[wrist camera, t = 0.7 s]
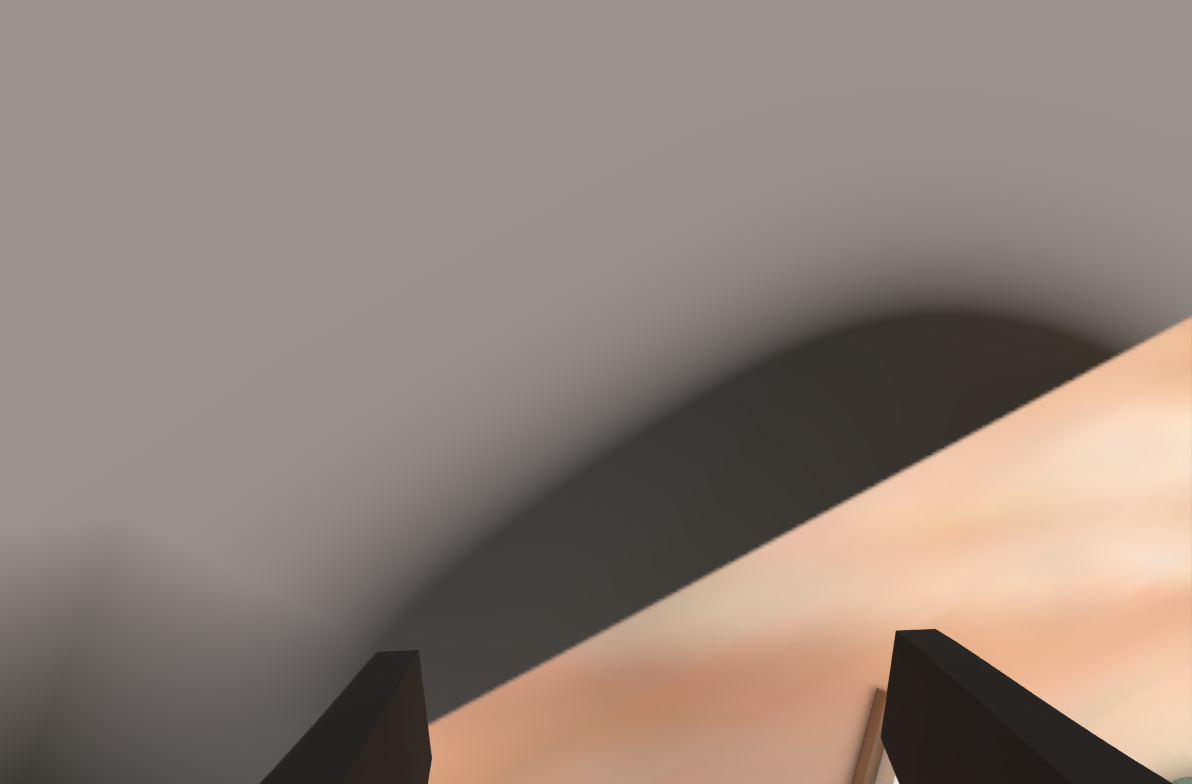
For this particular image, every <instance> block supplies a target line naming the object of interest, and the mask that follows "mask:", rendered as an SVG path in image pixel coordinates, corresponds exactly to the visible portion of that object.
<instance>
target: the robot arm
mask: <svg viewBox="0 0 1192 784" xmlns="http://www.w3.org/2000/svg"><path fill="white" fill-rule="evenodd" d="M880 738H881V740H882V743H883V745H884V748H885V750H886V753H887V755H888V758H889V760H890V763H891V765H892V768H893V770H894V773H895V775H896V778H897V780H898V782H899V784H1172V783H1171V782H1169V781H1168V780H1166V779H1164V778H1163V777H1161V776H1159V775H1158V774H1156V773H1154V772H1153V771H1151V770H1150V769H1148V768H1146V767H1145V766H1143V765H1141V764H1140V763H1138V762H1137V761H1135V760H1133V759H1132V758H1130V757H1129V756H1127V755H1125V754H1124V753H1122V752H1121V751H1119V750H1118V749H1116V748H1114V747H1113V746H1111V745H1110V744H1108V743H1107V742H1105V741H1104V740H1102V739H1100V738H1099V737H1097V736H1096V735H1094V734H1093V733H1091V732H1090V731H1088V730H1087V729H1085V728H1084V727H1082V726H1081V725H1079V724H1078V723H1076V722H1075V721H1073V720H1071V719H1070V718H1068V717H1067V716H1065V715H1064V714H1062V713H1061V712H1059V711H1058V710H1056V709H1055V708H1053V707H1052V706H1051V705H1049V704H1048V703H1046V702H1045V701H1043V700H1042V699H1040V698H1039V697H1037V696H1036V695H1034V694H1033V693H1031V692H1030V691H1028V690H1027V689H1025V688H1024V687H1022V686H1021V685H1019V684H1018V683H1017V682H1015V681H1014V680H1012V679H1011V678H1009V677H1008V676H1006V675H1005V674H1003V673H1002V672H1000V671H999V670H997V669H996V668H995V667H993V666H992V665H990V664H989V663H987V662H986V661H984V660H983V659H981V658H980V657H978V656H977V655H975V654H974V653H972V652H971V651H969V650H968V649H966V648H965V647H963V646H962V645H960V644H959V643H957V642H956V641H954V640H952V639H951V638H949V637H948V636H946V635H944V634H943V633H941V632H940V631H938V630H936V629H924V630H900V631H896V634H895V640H894V647H893V654H892V661H891V668H890V675H889V682H888V689H887V696H886V703H885V709H884V716H883V723H882V730H881V737H880ZM431 761H432V755H431V747H430V739H429V731H428V723H427V715H426V707H425V699H424V691H423V682H422V674H421V667H420V658H419V651H418V650H414V651H388V652H377V653H376V654H375V655H374V656H373V657H372V658H371V659H370V660H369V661H368V662H367V663H366V665H365V666H364V667H363V668H362V669H361V670H360V672H359V673H358V674H357V675H356V676H355V677H354V679H353V680H352V681H351V682H350V683H349V684H348V686H347V687H346V688H345V689H344V690H343V691H342V693H341V694H340V695H339V696H338V697H337V698H336V699H335V701H334V702H333V703H332V704H331V705H330V706H329V708H328V709H327V710H326V711H325V712H324V713H323V714H322V716H321V717H320V718H319V719H318V720H317V721H316V722H315V723H314V725H313V726H312V727H311V728H310V729H309V731H307V732H306V734H305V735H304V736H303V737H302V738H301V739H300V740H299V741H298V742H297V744H296V745H295V746H294V747H293V748H292V749H291V750H290V751H289V752H288V753H287V754H286V755H285V757H284V758H283V759H282V760H281V761H280V762H279V763H278V764H277V765H276V766H275V768H274V769H273V770H272V771H271V772H270V773H269V774H268V775H267V776H266V777H265V778H264V779H263V781H261V783H260V784H428V779H429V773H430V767H431Z"/></svg>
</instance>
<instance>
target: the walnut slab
mask: <svg viewBox="0 0 1192 784" xmlns="http://www.w3.org/2000/svg"><path fill="white" fill-rule="evenodd" d="M886 696H887V692H885V691H883V690H880V689H878V688H877V692H876V696H875V699H874V703H873V707H872V711H871V715H870V718H869V722H868V726H867V730H866V734H865V737H864V741H863V745H862V749H861V753H860V756H859V760H858V764H857V768H856V772H855V775H854V779H853V783H852V784H875V781H876V777H877V773H878V769H879V765H880V762H881V758H882V754H883V750H884V745H883V743H882V740H881V738H880V737H881V730H882V723H883V716H884V709H885V703H886Z"/></svg>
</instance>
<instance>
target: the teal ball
mask: <svg viewBox="0 0 1192 784" xmlns="http://www.w3.org/2000/svg"><path fill="white" fill-rule="evenodd" d="M1171 783H1172V784H1192V777H1186V778H1181V779H1178V780H1175V781H1173V782H1171Z"/></svg>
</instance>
